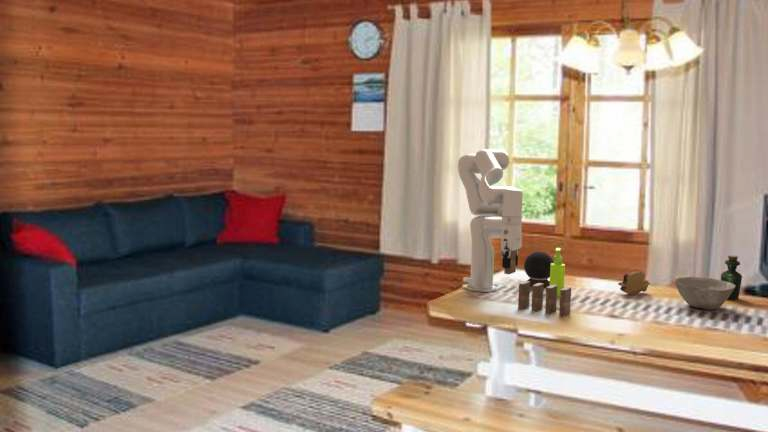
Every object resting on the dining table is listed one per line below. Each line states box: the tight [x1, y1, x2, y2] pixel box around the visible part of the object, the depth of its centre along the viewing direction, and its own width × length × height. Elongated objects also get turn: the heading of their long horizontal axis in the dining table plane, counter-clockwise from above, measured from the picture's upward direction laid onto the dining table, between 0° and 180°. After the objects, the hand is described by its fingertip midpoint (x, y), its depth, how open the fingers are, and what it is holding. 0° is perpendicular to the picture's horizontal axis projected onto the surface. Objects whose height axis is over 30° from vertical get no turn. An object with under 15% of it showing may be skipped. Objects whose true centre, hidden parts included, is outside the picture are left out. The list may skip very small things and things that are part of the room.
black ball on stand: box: [523, 250, 554, 289], centre depth 331 cm, size 13×13×15 cm
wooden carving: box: [617, 270, 650, 296], centre depth 316 cm, size 16×5×10 cm, turn 123°
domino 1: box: [503, 248, 517, 275], centre depth 291 cm, size 2×6×10 cm, turn 146°
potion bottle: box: [720, 254, 743, 301], centre depth 312 cm, size 8×8×18 cm
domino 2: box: [517, 280, 531, 311], centre depth 289 cm, size 2×6×10 cm, turn 146°
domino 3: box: [531, 283, 544, 313], centre depth 286 cm, size 2×6×10 cm, turn 146°
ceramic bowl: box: [673, 276, 735, 311], centre depth 296 cm, size 22×23×10 cm
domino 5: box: [558, 286, 572, 317], centre depth 280 cm, size 2×6×10 cm, turn 146°
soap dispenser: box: [549, 247, 566, 298], centre depth 311 cm, size 6×7×20 cm
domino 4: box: [544, 285, 558, 315], centre depth 283 cm, size 2×6×10 cm, turn 146°
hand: (509, 266), depth 291 cm, fingers closed on domino 1, 5 cm apart
